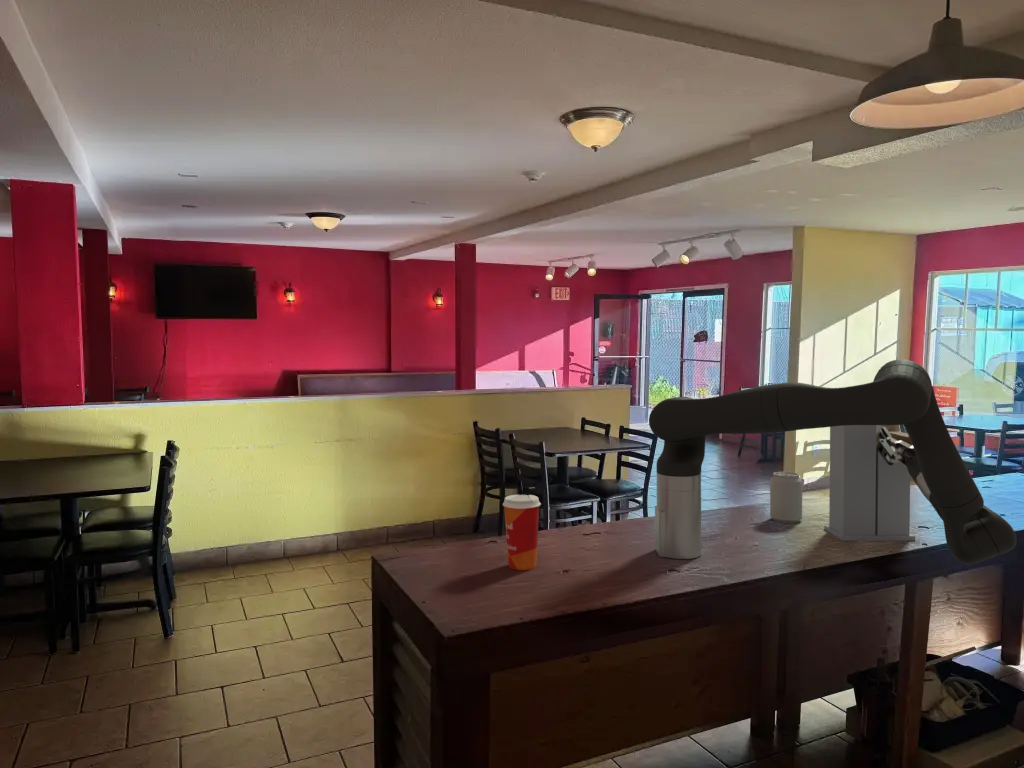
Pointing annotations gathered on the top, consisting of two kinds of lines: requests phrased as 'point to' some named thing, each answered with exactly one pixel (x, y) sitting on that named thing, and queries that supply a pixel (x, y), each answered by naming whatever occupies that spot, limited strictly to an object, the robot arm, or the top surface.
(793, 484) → the can
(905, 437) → the peg
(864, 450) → the stand
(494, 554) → the top surface
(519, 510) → the paper cup
